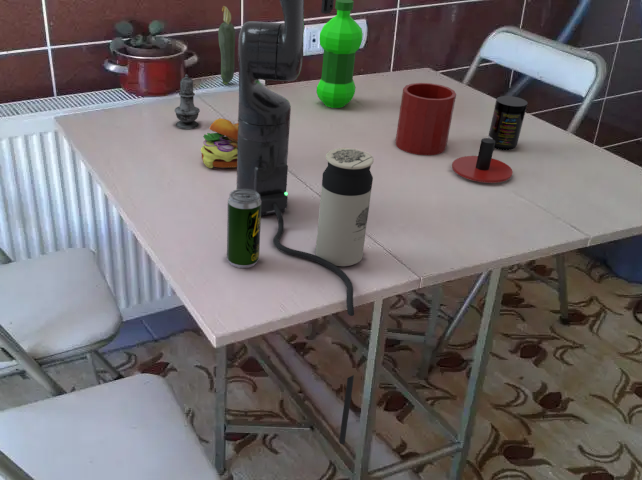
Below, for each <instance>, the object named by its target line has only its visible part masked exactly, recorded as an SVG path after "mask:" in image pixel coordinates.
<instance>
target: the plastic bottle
mask: <svg viewBox="0 0 642 480" xmlns="http://www.w3.org/2000/svg"><path fill="white" fill-rule="evenodd" d="M354 2H355V1H354V0H335V4H334V5H335V6H334V9H335V10H336V15H335V16H333V17H332V18H331V19H329V20H328V21H327V22H326V23H325V24H323V26H322V28H321V31H320V32H319V45H320V47H321V49H323V54H322V67H321V68H322V69H321V77H320V80H319V82H318V84H317V86H316V94H317V97H318V99H319V101H321V102H322V103H323V104H324V106H326V107H327V108H332V109H341V108H344V107H345V106H347V104H349V103H350V102H351V101H353V98H354V96H355V93H356V88H357V87H356V84H355V81H354V78H353V77H354V73H355V72H354V70H355V61H356V52H358V51H359V50H360V48H361V45H362V43H363V37H364V33H363V29H362V27H361V26H360V25H359V24H358V23H357V21H356V20H355V19H354V18H353V17H352V16H351V11H353V9H354V4H355V3H354Z"/></svg>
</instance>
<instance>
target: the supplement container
mask: <svg viewBox="0 0 642 480" xmlns="http://www.w3.org/2000/svg"><path fill="white" fill-rule="evenodd" d="M527 107H528V101H527V100H526V99H524V98H521V97H517V96H511V95H501V96H498V97H496V98H495V104H494V108H493V112H492V117H491V121H490V126H489V131H488V136H487V138H490V139H493V140H495V146H494V150H498V151H512V150H515V149H516V148H517V146H518V143H519V138H520V136H521V132H522V131H521V130H522V127H523V123H524V119H525V115H526V111H527Z"/></svg>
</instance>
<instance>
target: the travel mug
mask: <svg viewBox="0 0 642 480" xmlns="http://www.w3.org/2000/svg"><path fill="white" fill-rule="evenodd" d="M325 159H326V161H327V166H326V168H325V169H324V171H323V172H322V177H321V178H322V179H321V187H320V188H321V189H320V199H319V210H318V211H319V212H318V220H317V221H318V222H317V232H316V233H317V234H316V242H315V243H316V244H315V255H316V256H318V257H320V258H322V259H324V260H326V261H328V262H330V263H332V264H334V265H335V266H337V267H349V266H353V265H356V264H359V263H360V262H361V261H362V259H363V256H364V248H365V242H366V233H367V225H368V218H369V212H370V211H369V210H370V202H371V196H372V190H373V189H372V187H373V180H374V177H373V174H372V172H371V167H372V165H373V163H374V161H375V159H374V156H373V155H372V154H370V152H367V151H365V150H362V149H359V148H353V147H339V148H333V149H331V150H329V151H328V152H327V153H326V154H325Z"/></svg>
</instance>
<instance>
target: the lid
mask: <svg viewBox="0 0 642 480" xmlns="http://www.w3.org/2000/svg"><path fill="white" fill-rule="evenodd" d="M494 146H495V140H493V139H490V138H488V137H483V138H481V140H480V143H479V149H478V153H477V155H465V156H460V157H458V158H455V159H454V160H453V161H452V164H451V169H452V171H453V172H454V173H455V174H457V175H458V176H460V177H462V178H464V179H467V180H470V181H473V182H479V183H486V184H487V183H488V184H497V183H503V182H506V181H509V180H510V179H511V178H512V177H513V173H514V170H513V169H512V167H511V166H510V165H508V164H507V163H505V162H504V161H501V160H499V159H496V158H493V154H494V150H495V148H494Z"/></svg>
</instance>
